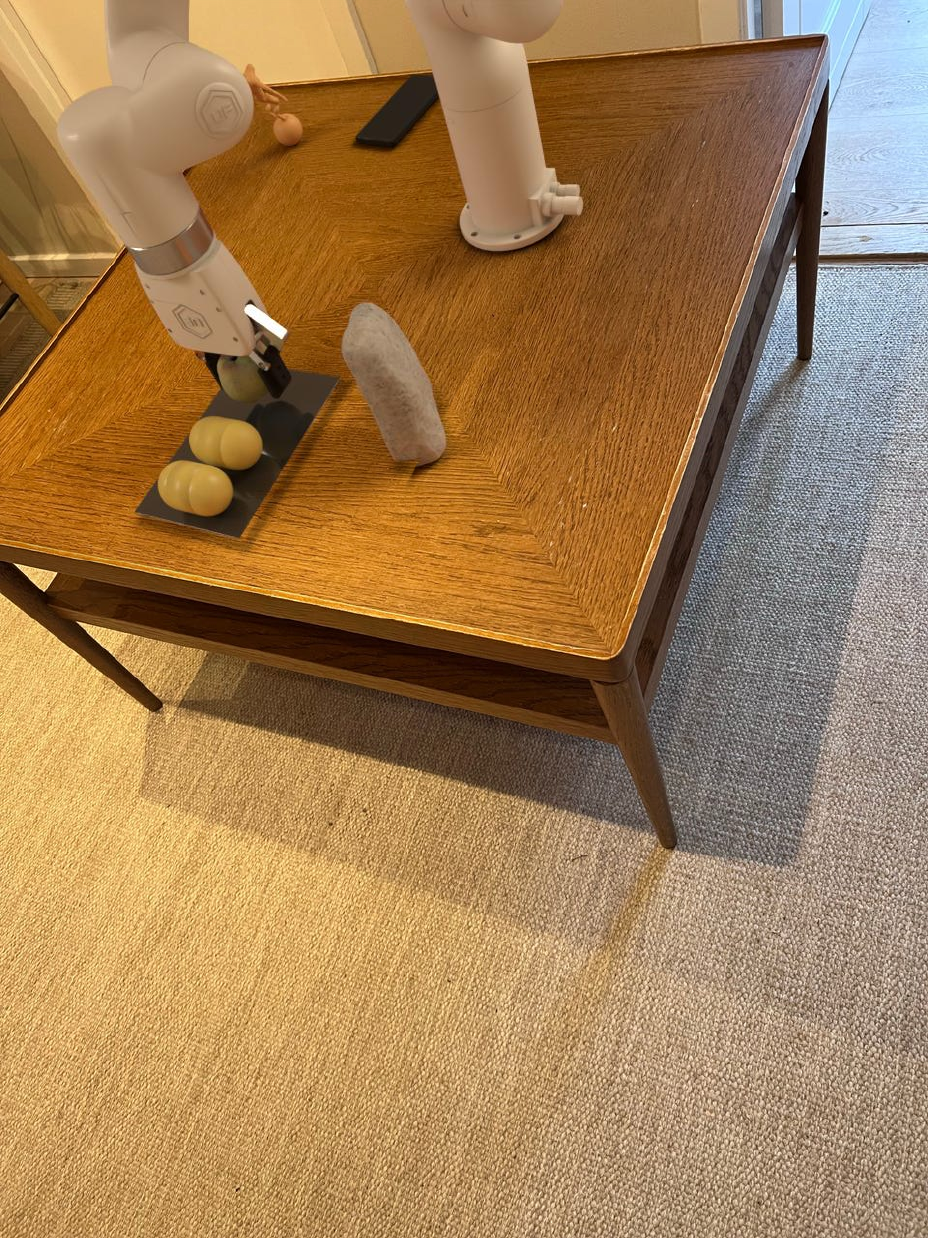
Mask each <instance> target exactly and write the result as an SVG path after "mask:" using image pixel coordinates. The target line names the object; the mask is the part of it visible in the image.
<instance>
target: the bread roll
mask: <svg viewBox="0 0 928 1238" xmlns="http://www.w3.org/2000/svg"><path fill="white" fill-rule="evenodd" d="M158 477H159V479H158V478H157V479H158V490H159V493H160V496H161V498H162V499H163V500H164V502H165V503H166V504H168V505H169V506H170V507H172V508H174V509H177V510H181V511H185V512H189V513H193V514H197V515H201V516H214V515H217V514H220V513H221V512H223V511H224V510H225V509H226V508H227V507H228V506H229V504H230V503H231V500H232V496H233V487H232V483H231V481H230V479H229V477H228V476H227V475H226V474H225V473H224V472H223V471H222V470H220V469H219V468H216V467H213V466H210V465H205V464H200V463H196V462H191V461H183V460H180V461H175V462H173V463H171V464H169V465H167V464H166V466H165V467H164V468H163V469H162V470H161V472H160V473H159V475H158Z"/></svg>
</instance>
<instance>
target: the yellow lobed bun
mask: <svg viewBox="0 0 928 1238" xmlns="http://www.w3.org/2000/svg"><path fill="white" fill-rule="evenodd" d="M198 420H199V419H198ZM198 420H197V421H196V422H195V424H194V425H193V426H192V428H191V429H190V431H189V433H190V436H189V443H190V447H191V450H192V452H193V453H194V455H195V456H196V457H197V458H198V459H199V460H201V461H202V462H204V463H206V464H209V465H213V466H218V467H222V468H227V469H232V470H245V469H248V468H250V467H252V466H253V465H254V464H255V463H256V462H257V461H258V460H259V458H260V456H261V453H262V439H261V437H260V435H259V433H258V431H257V430H256V429H255V428H254V427H253V426H252V425H250V424H249V423H246V422H244V421H240V420H235V419H229V418H224V417H218V416H209V417H205V418H203V419H201V420H199V421H198Z"/></svg>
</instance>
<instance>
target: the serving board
mask: <svg viewBox="0 0 928 1238" xmlns="http://www.w3.org/2000/svg"><path fill="white" fill-rule="evenodd" d="M287 369H288V371H289V373H290V374H291V377H292V379H291V381H290V383H289V384H288V386H287V387H286V389H285V390H284V392H283V393H282V395H281V397H280V398H279V399H276V398H273V397H272V396H271V394H270V392H268V393H266V394H265V395H264V396H262V397H261V398H260V399H259V400H258V401H256V402H254V403H243V402H239V401H236V400H234V399H232V398H231V397H230V396H229V395H228V394H227V393H226V392H225V390H222V389H221V388H219V390H218V392H217V393H216V394H215V396H214V397H213V398H212V400H211V401H210V403H209V405H208V406H207V408H206V409H204V411H203V413H202V414H201V415H200V417H199V419H198V420H197V422H198V421H199V420H201V419H203V418H205V417H209V416H218V417H224V418H229V419H235V420H240V421H244V422H246V423H249V424H250V425H252V426H253V427H254V428H255V429H256V430H257V431H258V433H259V435H260V437H261V439H262V453H261V456H260V458H259V460H258V461H257V462H256V463H255V464H254V465H253V466H252V467H250V468H248V469H245V470H232V469H227V468H222V467H218V466H213V465H210V466H213V467H216V468H219V469H220V470H222V471H223V472H224V473H225V474H226V475H227V476H228V477H229V479H230V481H231V483H232V487H233V496H232V500H231V503H230V504H229V506H228V507H227V508H226V509H225V510H224V511H223V512H221V513H220V514H217V515H214V516H201V515H197V514H193V513H189V512H185V511H181V510H177V509H174V508H172V507H170V506H169V505H168V504H166V503H165V502H164V500H163V499H162V498H161V496H160V493H159V490H158V479H159V476H158V477H157V478H156V480H155V482H154V483H153V484H152V485H151V487H150V489H149V490H148V492H147V493H146V495H145V496H144V497H143V499H142V500H141V502H140V503H139V504H138V506H137V507H136V508H135V510H134V511H133V513H134V514H139V515H142V516H147V517H151V518H153V519H158V520H162V521H166V522H170V523H175V524H178V525H182V526H187V527H190V528H194V529H198V530H202V531H206V532H210V533H214V534H217V535H222V536H226V537H230V538H234V539H238V540H239V539H240V538H241V537H242V536H243V533H244V532H245V530H246V529H247V528H248V526H249V524H250V522H251V521H252V519H253V518H254V516H255V514H256V513H257V512H258V510H259V508H260V507H261V505H262V503H263V502H264V500H265V498H266V497H267V495H268V494H269V492H270V491H271V489H272V488H273V486H274V484H275V483H276V481H277V479H278V478H279V476H280V475H281V473H282V471H283V470H284V469H285V467H286V466H287V464H288V462H289V460H290V459H291V457H292V456H293V454H294V453H295V451H296V449H297V448H298V447H299V445H300V443H301V442H302V440H303V438H304V437H305V435H306V434H307V432H308V431H309V429H310V427H311V426H312V425H313V422H314V421H315V419H316V418H317V416H318V415H319V413H320V412H321V410H322V409H323V407H324V405H325V404H326V402H327V400H328V399H329V397H330V396H331V394H332V393H333V391H334V390H335V388H336V386H337V384H338V383H339V382H340V380H341V379H342V377H341V376H337V375H330V374H323V373H317V372H316V373H315V372H309V371H302V370H296V369H289V368H287ZM189 436H190V432H189V433H188V435H187V436H186V437H185V439H184V440H183V442H182V443H181V444H180V446H179V447H178V449H177V450H176V451H175V453H174V455H173V456H172V457H171V458H170V460H169V462H167V464H166V466H167V465H169V464H171V463H173V462H175V461H180V460H183V461H191V462H196V463H200V464H205V465H209V464H206V463H204V462H202V461H201V460H199V459H198V458H197V457H196V456H195V455H194V453H193V452H192V450H191V447H190V443H189Z"/></svg>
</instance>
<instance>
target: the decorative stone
mask: <svg viewBox="0 0 928 1238" xmlns="http://www.w3.org/2000/svg"><path fill="white" fill-rule="evenodd" d="M341 355H342V358H343V360H344V362H345V364H346V366H347V367H348V369H349V370H350V372H351V374H352V376H353V378H354V381H355V383H356V385H357V387H358V389H359V391H360V393H361V395H362V396H363V398H364V400H365V402H366V403H367V405H368V407H369V409H370V411H371V413H372V415H373V417H374V420H375V422H376V424H377V426H378V429H379V432H380V434H381V436H382V439H383V442H384V443H385V446H386V448H387V450H388V452H389V453H390V455H391V457H392V459H393V460H394V461H396V462H397V461H398V462H399V461H408V460H416V459H419V460H418V461H417V463H416V465H415V468H417V467H420V466H424V465H427V464H431V463H433V462H435V461H437V460H438V459H440V457H441V456H442V455H443V454H444V452H445V451H446V449H447V437H446V432H445V428H444V425H443V423H442V421H441V417H440V414H439V411H438V407H437V403H436V401H435V397H434V391H433V386H432V383H431V380H430V377H429V375H427V373H426V371H425V369H424V367H423V365H422V364H421V362H420V360H419V357H418V356H417V353H416V351H415V350H414V348H413V346H412V344H411V342H410V341H409V339H408V338H407V337H406V334H405V333H404V332H403V331H402V329H401V328H400V326H399V324H398V323H397V322H396V321H395V319H394V318H393V317H392V316H391V315H390V314H389V313H387V312H386V311H385V310H384V309H382V308H381V307H379V306H378V305H376V304H375V303H373V302H361V303H359V304H357V305H355V306H354V307H353V308H352V310H351V313H350V315H349V319H348V323H347V327H346V329H345V330H344V333H343V335H342V340H341Z"/></svg>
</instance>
